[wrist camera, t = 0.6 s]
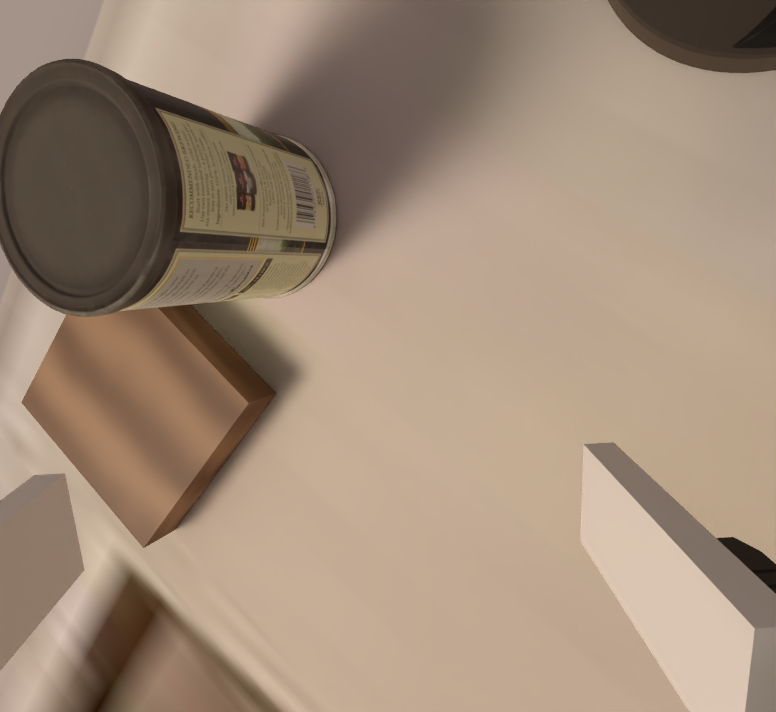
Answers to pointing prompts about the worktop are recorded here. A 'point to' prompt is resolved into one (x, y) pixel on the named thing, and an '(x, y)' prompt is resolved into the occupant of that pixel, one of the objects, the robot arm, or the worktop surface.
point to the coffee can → (151, 198)
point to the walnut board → (146, 409)
